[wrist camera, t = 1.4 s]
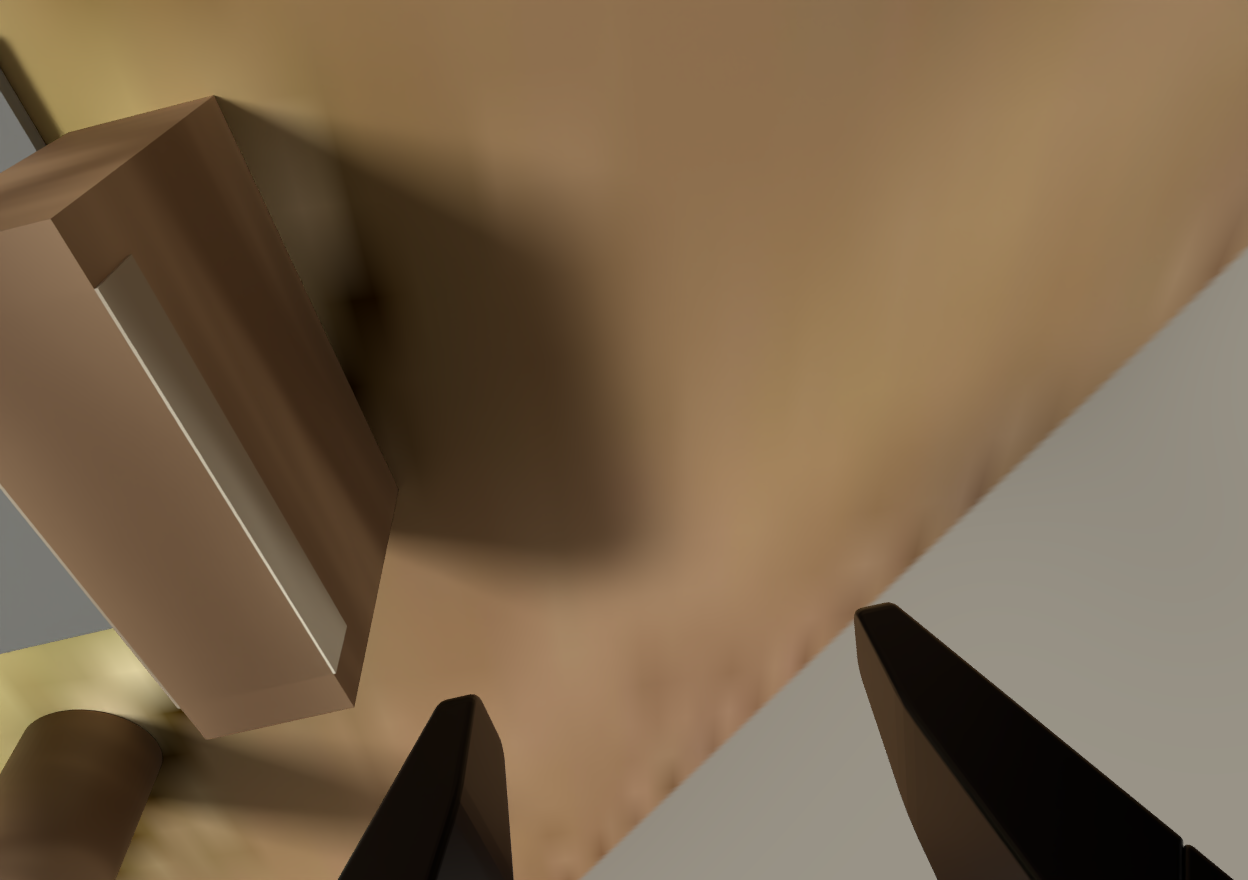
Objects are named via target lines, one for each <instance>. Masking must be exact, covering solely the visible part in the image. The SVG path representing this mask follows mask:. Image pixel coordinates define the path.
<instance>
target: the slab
mask: <svg viewBox="0 0 1248 880" xmlns="http://www.w3.org/2000/svg"><path fill="white" fill-rule="evenodd" d="M0 489H1V490H2V491H3V492H4V494H5V495H6V496H7V497H8V499H9V500H10V501H11V502H12V504H13V505H14V506H15V507H16V509H17V510H18V511H19V512H20V513H21V515H22V516H23V517H24V518H25V520H26V521H27V522H28V523H29V525H30V526H31V527H32V528H33V530H34V531H35V532H36V533H37V535H38V536H39V537H40V538H41V539H42V541H43V542H44V543H45V544H46V546H47V547H48V548H49V549H50V551H51V552H52V553H53V554H54V556H55V557H56V558H57V559H58V561H59V562H60V563H61V564H62V565H63V567H64V568H65V569H66V570H67V572H68V573H69V574H70V575H71V577H72V578H73V579H74V580H75V582H76V583H77V584H78V585H79V587H80V588H81V589H82V590H83V591H84V593H85V594H86V595H87V596H88V598H89V599H90V600H91V601H92V603H93V604H94V605H95V606H96V608H97V609H98V610H99V611H100V613H101V614H102V615H103V616H104V617H105V619H106V620H107V621H108V622H109V624H110V625H111V626H112V627H113V629H114V630H115V631H116V632H117V634H118V635H119V636H120V637H121V639H122V640H123V641H124V642H125V643H126V645H127V646H128V647H129V648H130V650H131V651H132V652H133V653H134V655H135V656H136V657H137V658H138V660H139V661H140V662H141V663H142V665H143V666H144V667H145V668H146V669H147V671H148V672H149V673H150V674H151V676H152V677H153V678H154V679H155V681H156V682H157V683H158V684H159V686H160V687H161V688H162V689H163V691H164V692H165V693H166V694H167V695H168V697H169V698H170V699H171V700H172V702H173V703H174V704H175V705H176V707H177V708H181V709H182V710H183V712H184V713H185V714H186V715H187V717H188V718H189V719H190V720H191V722H192V723H193V724H194V725H195V727H196V728H197V729H198V730H199V732H200V733H201V734H202V735H203V736H204V738H205V739H206V740H209V739H213V738H218V737H222V736H227V735H231V734H236V733H240V732H245V731H249V730H254V729H258V728H263V727H267V726H272V725H276V724H281V723H285V722H290V721H294V720H299V719H303V718H308V717H313V716H317V715H322V714H326V713H331V712H335V711H340V710H344V709H349V708H353V707H354V705H355V701H356V696H357V691H358V686H359V681H360V676H361V671H362V666H363V662H364V657H365V652H366V647H367V642H368V637H369V632H370V627H371V622H372V618H373V613H374V608H375V603H376V598H377V593H378V588H379V583H380V579H381V574H382V569H383V564H384V559H385V554H386V549H387V544H388V539H389V535H390V530H391V525H392V520H393V515H394V510H395V505H396V500H397V496H398V491H399V489H398V487H397V485H396V483H395V481H394V479H393V477H392V474H391V472H390V470H389V468H388V466H387V464H386V462H385V459H384V457H383V455H382V453H381V451H380V449H379V447H378V445H377V442H376V440H375V438H374V436H373V434H372V432H371V430H370V427H369V425H368V423H367V421H366V419H365V417H364V415H363V412H362V410H361V408H360V406H359V404H358V402H357V400H356V398H355V395H354V393H353V391H352V389H351V387H350V385H349V383H348V380H347V378H346V376H345V374H344V372H343V370H342V368H341V365H340V363H339V361H338V359H337V357H336V355H335V353H334V351H333V348H332V346H331V344H330V342H329V340H328V338H327V336H326V333H325V331H324V329H323V327H322V325H321V323H320V321H319V318H318V316H317V314H316V312H315V310H314V308H313V306H312V304H311V301H310V299H309V297H308V295H307V293H306V291H305V289H304V286H303V284H302V282H301V280H300V278H299V276H298V274H297V271H296V269H295V267H294V265H293V263H292V261H291V259H290V257H289V254H288V252H287V250H286V248H285V246H284V244H283V242H282V239H281V237H280V235H279V233H278V231H277V229H276V227H275V224H274V222H273V220H272V218H271V216H270V214H269V212H268V210H267V207H266V205H265V203H264V201H263V199H262V197H261V195H260V192H259V190H258V188H257V186H256V184H255V182H254V180H253V178H252V175H251V173H250V171H249V169H248V167H247V165H246V163H245V160H244V158H243V156H242V154H241V152H240V150H239V148H238V145H237V143H236V141H235V139H234V137H233V135H232V133H231V131H230V128H229V126H228V124H227V122H226V120H225V118H224V116H223V113H222V111H221V109H220V107H219V105H218V103H217V101H216V98H215V96H214V95H213V96H209V97H205V98H201V99H197V100H193V101H190V102H186V103H182V104H178V105H174V106H170V107H166V108H162V109H158V110H154V111H150V112H147V113H143V114H139V115H135V116H131V117H127V118H123V119H119V120H115V121H111V122H108V123H104V124H100V125H96V126H92V127H88V128H84V129H80V130H76V131H72V132H68V133H67V134H65V135H63V136H62V137H60V138H58V139H56V140H55V141H53V142H51V143H50V144H48V145H46V146H45V147H43V148H41V149H40V150H38V151H36V152H35V153H33V154H31V155H30V156H28V157H26V158H25V159H23V160H21V161H20V162H18V163H16V164H15V165H13V166H11V167H10V168H8V169H6V170H5V171H3V172H1V173H0Z"/></svg>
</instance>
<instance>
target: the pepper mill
mask: <svg viewBox="0 0 1248 880" xmlns="http://www.w3.org/2000/svg"><path fill="white" fill-rule="evenodd" d="M162 760H163V758H162V752H161V749H160V747H159V745H158V743H157V742H156V740H155V739H154V738H153V737H152V736H151V735H150V734H149V733H148V732H147V731H145V730H144V729H143V728H141V727H140V726H138V725H136V724H134V723H132V722H130V721H128V720H126V719H123V718H121V717H118V716H115V715H112V714H107V713H103V712H97V711H88V710H69V711H61V712H56V713H52V714H48V715H46V716H43V717H41V718H39V719H37V720H36V721H34V722H33V723H32V724H30V725H29V726H28V727H27V729H26V730H25V732H24V733H23V735H22V737H21V739H20V740H19V742H18V744H17V746H16V747H15V749H14V751H13V753H12V754H11V756H10V758H9V760H8V761H7V763H6V765H5V766H4V768H3V770H2V772H1V773H0V880H115V879H116V877H117V874H118V872H119V869H120V867H121V864H122V862H123V859H124V857H125V855H126V852H127V850H128V847H129V845H130V842H131V840H132V837H133V835H134V832H135V830H136V827H137V825H138V822H139V820H140V817H141V815H142V812H143V810H144V807H145V805H146V802H147V800H148V797H149V795H150V792H151V790H152V787H153V785H154V782H155V780H156V777H157V775H158V773H159V770H160V768H161V765H162Z"/></svg>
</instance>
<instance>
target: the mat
mask: <svg viewBox="0 0 1248 880" xmlns="http://www.w3.org/2000/svg"><path fill="white" fill-rule="evenodd" d="M45 146H46V144H45V143H44V141H43V139H42V137H41V136H40V134H39V132H38V131H37V129H36V127H35V126H34V124H33V122H32V121H31V119H30V117H29V116H28V114H27V112H26V111H25V109H24V107H23V105H22V104H21V102H20V100H19V99H18V97H17V95H16V94H15V92H14V90H13V89H12V87H11V85H10V84H9V82H8V80H7V79H6V77H5V75H4V74H3V72H2V70H1V68H0V173H1V172H3V171H5V170H6V169H8V168H10V167H11V166H13V165H15V164H16V163H18V162H20V161H21V160H23V159H25V158H26V157H28V156H30V155H31V154H33V153H35V152H36V151H38V150H40V149H41V148H43V147H45ZM111 628H113V627H112V626H111V625H110V624H109V622H108V621H107V620H106V619H105V617H104V616H103V615H102V614H101V613H100V611H99V610H98V609H97V608H96V606H95V605H94V604H93V603H92V601H91V600H90V599H89V598H88V596H87V595H86V594H85V593H84V591H83V590H82V589H81V588H80V587H79V585H78V584H77V583H76V582H75V580H74V579H73V578H72V577H71V575H70V574H69V573H68V572H67V570H66V569H65V568H64V567H63V565H62V564H61V563H60V562H59V561H58V559H57V558H56V557H55V556H54V554H53V553H52V552H51V551H50V549H49V548H48V547H47V546H46V544H45V543H44V542H43V541H42V539H41V538H40V537H39V536H38V535H37V533H36V532H35V531H34V530H33V528H32V527H31V526H30V525H29V523H28V522H27V521H26V520H25V518H24V517H23V516H22V515H21V513H20V512H19V511H18V510H17V509H16V507H15V506H14V505H13V504H12V502H11V501H10V500H9V499H8V497H7V496H6V495H5V494H4V492H3V491H2V490H1V489H0V654H2V653H6V652H10V651H15V650H19V649H24V648H28V647H32V646H37V645H41V644H45V643H50V642H54V641H59V640H63V639H67V638H72V637H76V636H80V635H85V634H89V633H93V632H98V631H102V630H107V629H111Z"/></svg>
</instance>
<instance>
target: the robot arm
mask: <svg viewBox="0 0 1248 880" xmlns="http://www.w3.org/2000/svg"><path fill="white" fill-rule="evenodd" d="M854 626H855V636H856V646H857V647H856V648H857V658H858V665H859V670H860V674H861V678H862V681H863V684H864V687H865V690H866V693H867V696H868V699H869V702H870V705H871V708H872V711H873V714H874V717H875V720H876V723H877V726H878V729H879V732H880V735H881V738H882V741H883V744H884V747H885V750H886V753H887V755H888V759H889V762H890V764H891V768H892V770H893V774H894V777H895V779H896V783H897V786H898V789H899V791H900V794H901V797H902V800H903V802H904V805H905V808H906V810H907V813H908V816H909V818H910V820H911V823H912V825H913V827H914V830H915V832H916V834H917V837H918V839H919V841H920V843H921V845H922V847H923V850H924V852H925V854H926V856H927V858H928V860H929V862H930V865H931V867H932V869H933V871H934V873H935V875H936V878H937V880H1233V879H1232V878H1231V877H1230V876H1228V875H1227V874H1226V873H1225V872H1223V871H1222V870H1221V869H1220V868H1219V867H1217V866H1216V865H1215V864H1214V863H1212V862H1211V861H1210V860H1209V859H1207V858H1206V857H1205V856H1204V855H1203V854H1201V853H1200V852H1199V851H1198V850H1197V849H1195V848H1194V847H1193V846H1191V845H1185V846H1184V847H1183V840H1182V838H1181V837H1180V836H1179V835H1178V834H1177V833H1175V832H1174V831H1173V830H1172V829H1170V828H1169V827H1168V826H1167V825H1166V824H1164V823H1163V822H1162V821H1161V820H1159V819H1158V818H1157V817H1156V816H1155V815H1153V814H1152V813H1151V812H1150V811H1148V810H1147V809H1146V808H1145V807H1143V806H1142V805H1141V804H1140V803H1139V802H1137V801H1136V800H1135V799H1134V798H1132V797H1131V796H1130V795H1129V794H1128V793H1126V792H1125V791H1124V790H1123V789H1121V788H1120V787H1119V786H1118V785H1116V784H1115V783H1114V782H1113V781H1112V780H1110V779H1109V778H1108V777H1107V776H1106V775H1104V774H1103V773H1102V772H1101V771H1099V770H1098V769H1097V768H1096V767H1094V766H1093V765H1092V764H1091V763H1089V762H1088V761H1087V760H1086V759H1085V758H1083V757H1082V756H1081V755H1080V754H1079V753H1077V752H1076V751H1075V750H1074V749H1072V748H1071V747H1070V746H1069V745H1068V744H1066V743H1065V742H1064V741H1063V740H1061V739H1060V738H1059V737H1058V736H1056V735H1055V734H1054V733H1053V732H1052V731H1050V730H1049V729H1048V728H1047V727H1045V726H1044V725H1043V724H1042V723H1040V722H1039V721H1038V720H1037V719H1036V718H1034V717H1033V716H1032V715H1031V714H1029V713H1028V712H1027V711H1026V710H1024V709H1023V708H1022V707H1021V706H1020V705H1018V704H1017V703H1016V702H1015V701H1014V700H1012V699H1011V698H1010V697H1009V696H1007V695H1006V694H1005V693H1004V692H1003V691H1001V690H1000V689H999V688H998V687H996V686H995V685H994V684H993V683H992V682H990V681H989V680H988V679H987V678H985V677H984V676H983V675H982V674H981V673H979V672H978V671H977V670H976V669H974V668H973V667H972V666H971V665H969V664H968V663H967V662H966V661H964V660H963V659H962V658H961V657H960V656H958V655H957V654H956V653H955V652H954V651H952V650H951V649H950V648H949V647H947V646H946V645H945V644H944V643H943V642H941V641H940V640H939V639H938V638H936V637H935V636H934V635H933V634H931V633H930V632H929V631H928V630H927V629H925V628H924V627H923V626H922V625H920V624H919V623H918V622H917V621H916V620H914V619H913V618H912V617H911V616H909V615H908V614H907V613H906V612H904V611H903V610H902V609H901V608H899V607H898V606H897V605H895V604H893V603H889V602H888V603H882V604H877V605H872V606H868V607H863V608H860V609H858V610H857V611H856V612H855V615H854ZM338 880H513V866H512V852H511V839H510V826H509V812H508V799H507V786H506V773H505V760H504V753H503V748H502V744H501V740H500V738H499V735H498V733H497V731H496V729H495V727H494V725H493V723H492V721H491V719H490V717H489V715H488V713H487V711H486V709H485V707H484V704H483V702H482V701H481V699H480V698H479V697H478V696H477V695H472V694H470V695H465V696H461V697H456V698H452V699H447V700H444V701H442V702H441V703H440V704H439V705H438V706H437V707H436V709H435V710H434V712H433V714H432V715H431V717H430V719H429V721H428V722H427V724H426V726H425V728H424V729H423V731H422V733H421V735H420V736H419V738H418V740H417V742H416V743H415V745H414V747H413V749H412V750H411V752H410V754H409V756H408V757H407V759H406V761H405V763H404V764H403V766H402V768H401V770H400V771H399V773H398V775H397V777H396V778H395V780H394V782H393V784H392V785H391V787H390V789H389V791H388V792H387V794H386V796H385V798H384V799H383V801H382V803H381V805H380V806H379V808H378V810H377V812H376V813H375V815H374V817H373V819H372V820H371V822H370V824H369V826H368V827H367V829H366V831H365V833H364V834H363V836H362V838H361V840H360V841H359V843H358V845H357V847H356V848H355V850H354V852H353V854H352V855H351V857H350V859H349V861H348V862H347V864H346V866H345V868H344V870H343V871H342V873H341V875H340V877H339V878H338Z"/></svg>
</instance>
